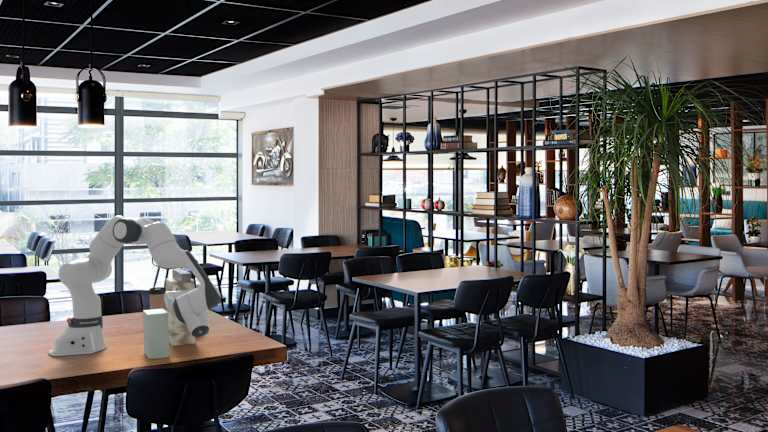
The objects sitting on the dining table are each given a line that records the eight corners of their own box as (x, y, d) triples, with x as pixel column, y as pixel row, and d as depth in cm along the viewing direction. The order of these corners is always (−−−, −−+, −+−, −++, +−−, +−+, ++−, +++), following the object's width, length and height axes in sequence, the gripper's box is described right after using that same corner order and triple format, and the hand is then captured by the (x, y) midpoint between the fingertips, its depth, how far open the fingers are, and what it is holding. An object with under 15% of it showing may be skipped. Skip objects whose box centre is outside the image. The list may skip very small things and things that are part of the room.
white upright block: (148, 359, 293) (147, 314, 293) (144, 353, 304) (142, 310, 303) (169, 356, 297) (168, 312, 296) (164, 350, 308) (162, 308, 307)
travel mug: (169, 328, 357) (168, 287, 356) (163, 331, 349) (162, 289, 348) (154, 327, 357) (153, 287, 356) (147, 331, 350) (146, 289, 349)
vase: (172, 345, 317) (170, 281, 316) (167, 340, 328) (165, 278, 326) (195, 343, 322) (194, 280, 320) (190, 338, 332) (188, 276, 331)
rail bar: (181, 283, 310) (181, 273, 310) (172, 278, 328) (172, 269, 328) (191, 282, 312) (190, 273, 312) (181, 277, 330) (181, 268, 329)
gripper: (219, 298, 303) (211, 278, 313) (168, 302, 294) (162, 281, 304) (217, 310, 306) (210, 290, 316) (167, 314, 297) (161, 293, 307)
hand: (186, 286), depth 310 cm, fingers open, 8 cm apart
